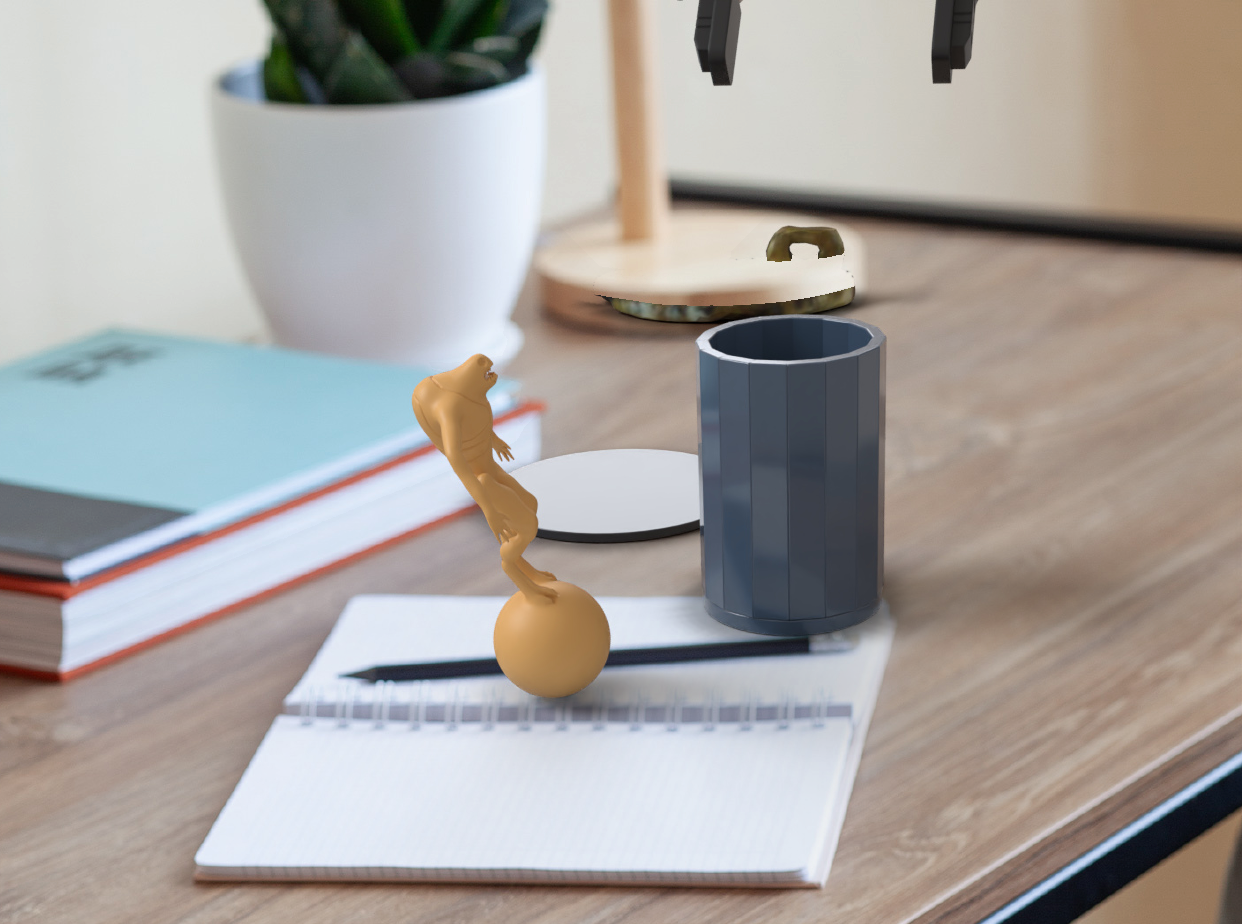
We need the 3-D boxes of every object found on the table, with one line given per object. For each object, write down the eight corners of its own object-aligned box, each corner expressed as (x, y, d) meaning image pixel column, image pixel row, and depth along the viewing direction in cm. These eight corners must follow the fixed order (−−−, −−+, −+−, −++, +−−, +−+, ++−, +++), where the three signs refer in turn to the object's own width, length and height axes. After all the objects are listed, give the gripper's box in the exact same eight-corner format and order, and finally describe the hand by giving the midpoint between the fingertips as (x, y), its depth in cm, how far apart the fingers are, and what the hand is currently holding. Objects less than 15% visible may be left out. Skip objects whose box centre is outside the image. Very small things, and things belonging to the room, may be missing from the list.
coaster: (771, 463, 92) (771, 455, 92) (706, 550, 83) (706, 541, 83) (537, 451, 96) (537, 443, 96) (450, 533, 87) (449, 524, 87)
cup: (896, 575, 80) (900, 316, 75) (862, 642, 74) (864, 367, 70) (728, 563, 82) (723, 311, 78) (682, 628, 76) (674, 360, 72)
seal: (580, 342, 117) (851, 336, 114) (573, 261, 114) (850, 253, 111) (605, 283, 124) (859, 276, 122) (599, 206, 122) (858, 197, 119)
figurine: (618, 741, 68) (601, 383, 63) (433, 752, 68) (401, 395, 63) (608, 641, 75) (592, 314, 70) (441, 651, 75) (413, 325, 70)
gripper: (681, -322, 84) (632, 14, 79) (1045, -344, 81) (1018, 5, 75) (707, -185, 91) (662, 132, 86) (1043, -200, 87) (1018, 129, 82)
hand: (829, 72), depth 81 cm, fingers open, 8 cm apart
